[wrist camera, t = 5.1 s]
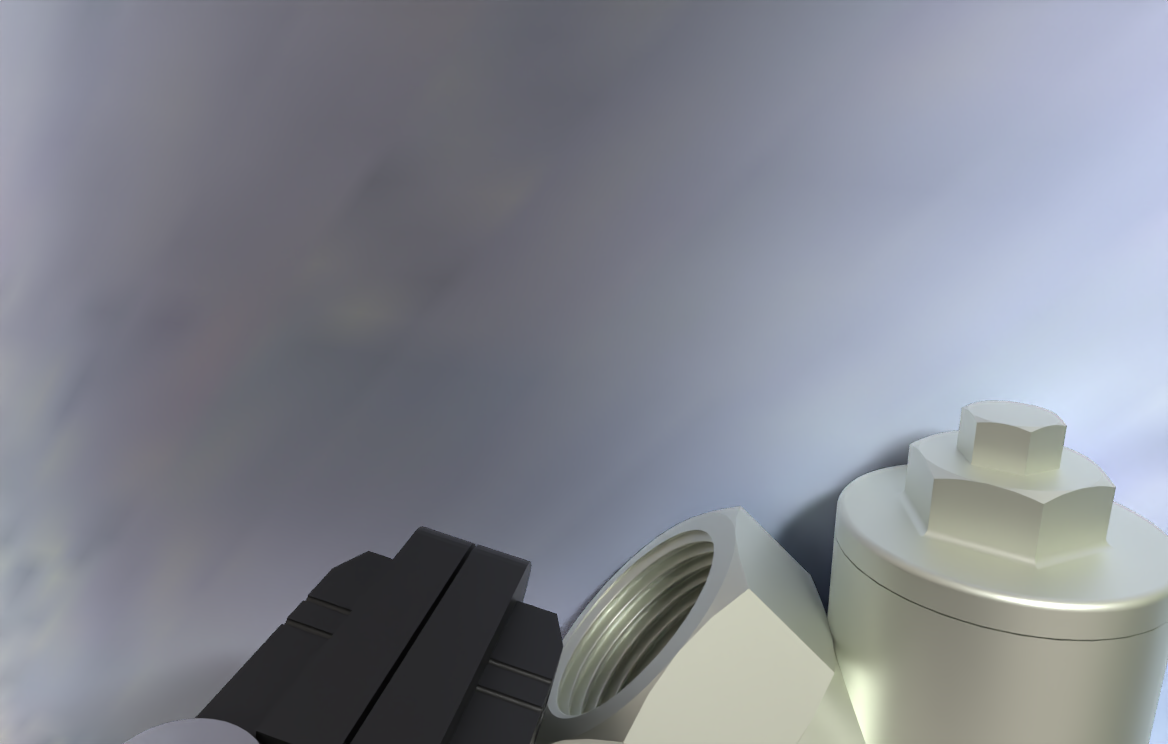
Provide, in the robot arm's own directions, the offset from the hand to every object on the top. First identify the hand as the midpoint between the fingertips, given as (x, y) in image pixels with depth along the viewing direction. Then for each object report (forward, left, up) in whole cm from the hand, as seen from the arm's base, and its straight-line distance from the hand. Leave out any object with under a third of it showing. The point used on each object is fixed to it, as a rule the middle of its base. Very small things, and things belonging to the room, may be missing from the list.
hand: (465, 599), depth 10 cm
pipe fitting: (0, +6, -2) cm, 7 cm away
